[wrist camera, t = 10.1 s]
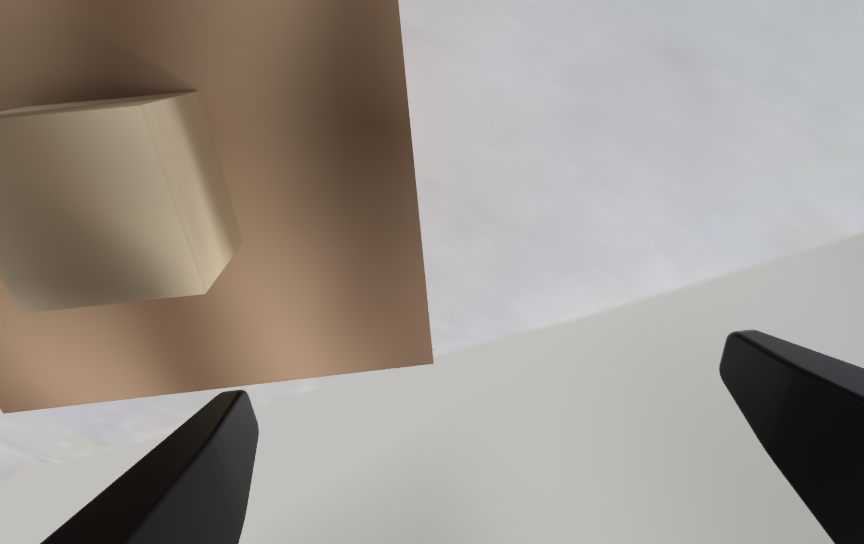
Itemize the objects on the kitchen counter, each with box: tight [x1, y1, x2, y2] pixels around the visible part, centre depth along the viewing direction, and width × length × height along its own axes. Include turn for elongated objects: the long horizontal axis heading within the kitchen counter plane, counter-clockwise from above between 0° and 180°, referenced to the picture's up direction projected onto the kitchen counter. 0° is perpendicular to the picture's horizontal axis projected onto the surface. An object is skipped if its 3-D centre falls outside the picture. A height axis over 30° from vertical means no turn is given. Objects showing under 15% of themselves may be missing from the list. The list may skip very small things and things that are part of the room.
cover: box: [0, 0, 433, 413], centre depth 11 cm, size 14×14×4 cm
